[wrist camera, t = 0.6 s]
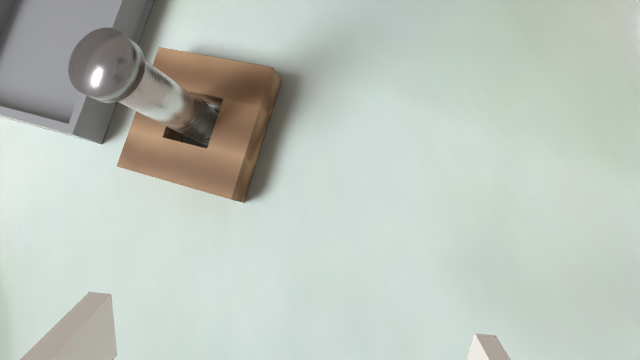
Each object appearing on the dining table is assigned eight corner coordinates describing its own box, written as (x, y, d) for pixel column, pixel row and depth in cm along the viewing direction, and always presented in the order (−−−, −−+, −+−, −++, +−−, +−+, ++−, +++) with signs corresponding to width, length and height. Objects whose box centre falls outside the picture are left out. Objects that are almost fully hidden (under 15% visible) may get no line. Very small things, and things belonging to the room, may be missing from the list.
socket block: (175, 60, 42) (159, 47, 39) (281, 80, 38) (272, 67, 36) (136, 171, 40) (116, 166, 37) (243, 202, 37) (230, 199, 34)
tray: (33, -35, 50) (3, -58, 46) (161, -19, 44) (138, -44, 41) (-26, 109, 47) (-63, 97, 44) (101, 144, 42) (72, 134, 38)
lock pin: (195, 101, 40) (83, 23, 26) (234, 110, 39) (140, 32, 25) (180, 144, 40) (58, 88, 25) (220, 154, 38) (115, 101, 24)
